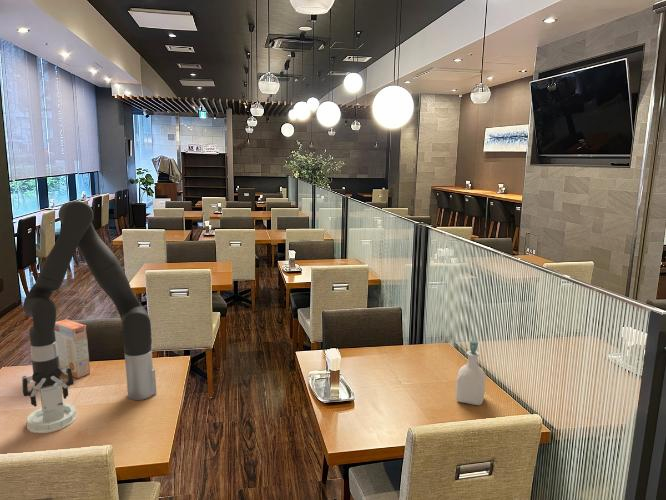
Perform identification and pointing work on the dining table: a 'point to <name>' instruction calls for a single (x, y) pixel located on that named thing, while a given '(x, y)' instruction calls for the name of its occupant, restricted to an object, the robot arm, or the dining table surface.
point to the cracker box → (72, 347)
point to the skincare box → (52, 403)
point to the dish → (38, 426)
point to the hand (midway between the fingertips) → (50, 401)
